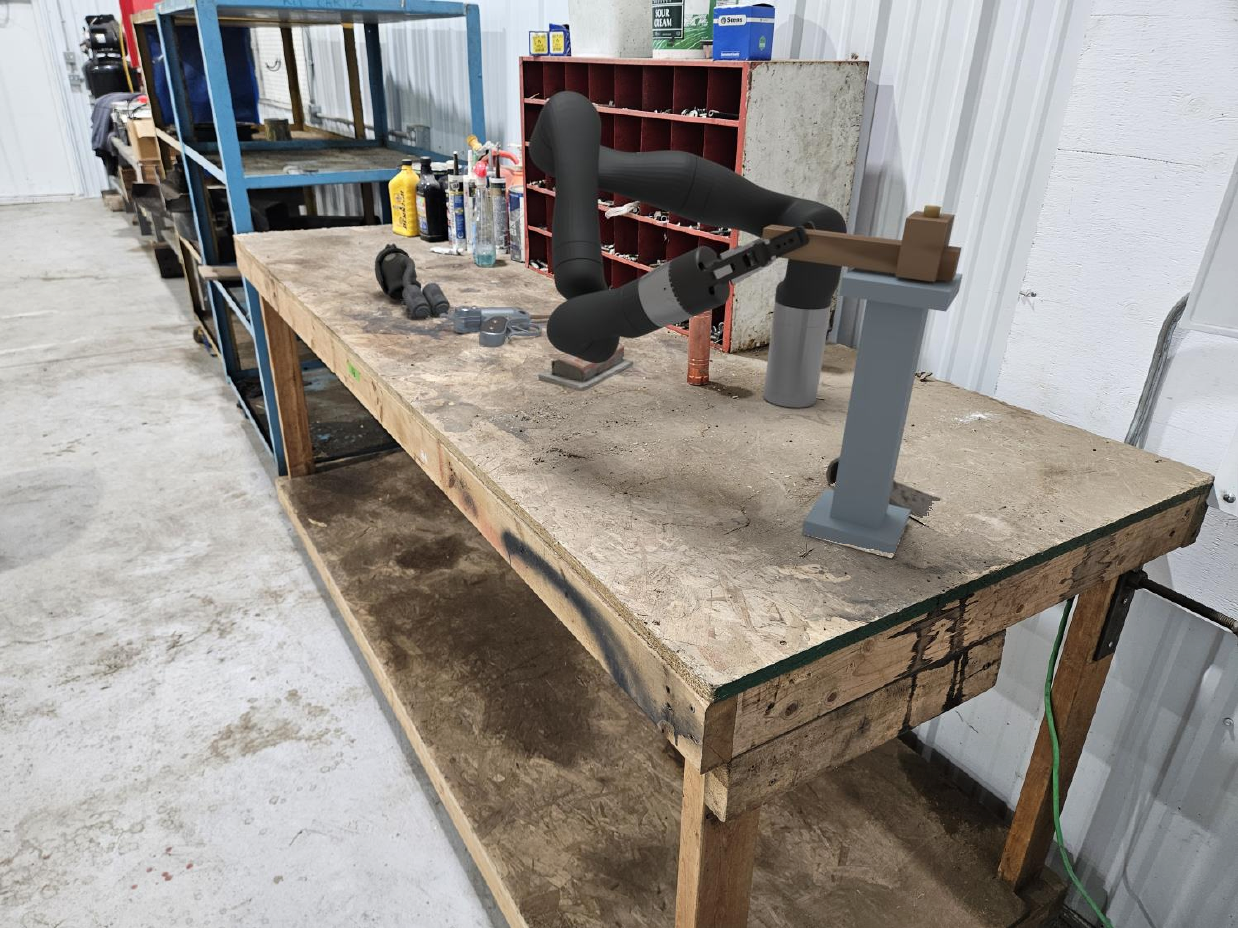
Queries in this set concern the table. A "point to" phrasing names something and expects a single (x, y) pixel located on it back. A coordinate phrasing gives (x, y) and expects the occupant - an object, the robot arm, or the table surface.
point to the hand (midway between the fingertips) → (809, 232)
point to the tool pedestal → (878, 408)
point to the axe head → (896, 494)
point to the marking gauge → (886, 248)
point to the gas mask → (408, 284)
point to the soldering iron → (494, 323)
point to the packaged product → (583, 370)
